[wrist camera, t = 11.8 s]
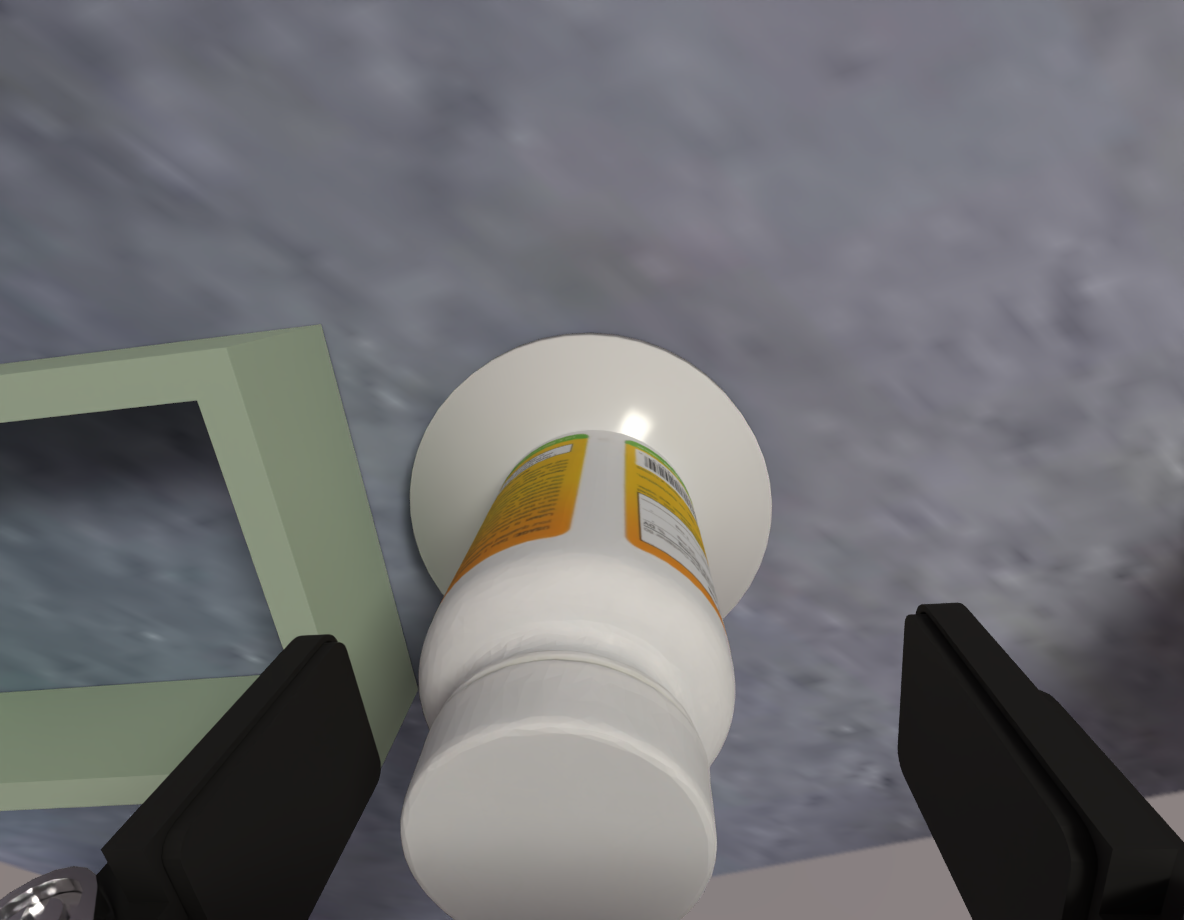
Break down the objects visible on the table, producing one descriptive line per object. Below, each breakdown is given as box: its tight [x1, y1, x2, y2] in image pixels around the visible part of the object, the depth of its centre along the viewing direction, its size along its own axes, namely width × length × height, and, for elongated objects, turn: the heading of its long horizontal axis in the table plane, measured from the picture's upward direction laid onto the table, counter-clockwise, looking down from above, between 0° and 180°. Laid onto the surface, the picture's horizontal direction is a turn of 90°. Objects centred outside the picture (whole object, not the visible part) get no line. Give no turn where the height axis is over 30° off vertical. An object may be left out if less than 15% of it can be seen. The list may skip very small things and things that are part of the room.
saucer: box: [410, 333, 772, 619], centre depth 17 cm, size 10×10×1 cm
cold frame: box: [0, 324, 418, 811], centre depth 16 cm, size 16×12×5 cm
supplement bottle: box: [400, 430, 735, 920], centre depth 12 cm, size 5×5×10 cm
